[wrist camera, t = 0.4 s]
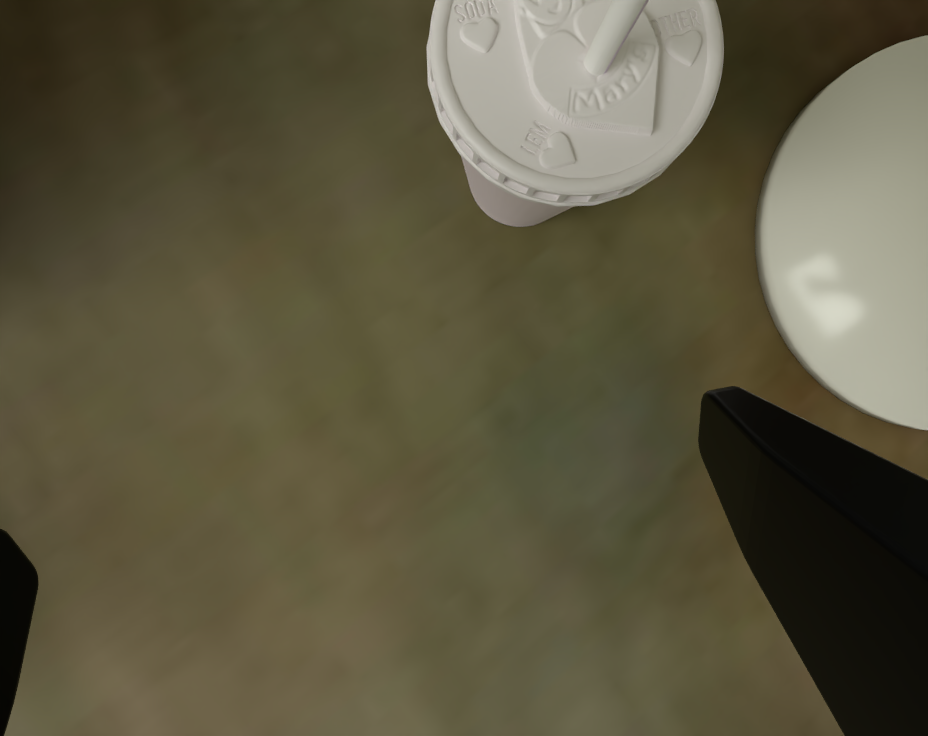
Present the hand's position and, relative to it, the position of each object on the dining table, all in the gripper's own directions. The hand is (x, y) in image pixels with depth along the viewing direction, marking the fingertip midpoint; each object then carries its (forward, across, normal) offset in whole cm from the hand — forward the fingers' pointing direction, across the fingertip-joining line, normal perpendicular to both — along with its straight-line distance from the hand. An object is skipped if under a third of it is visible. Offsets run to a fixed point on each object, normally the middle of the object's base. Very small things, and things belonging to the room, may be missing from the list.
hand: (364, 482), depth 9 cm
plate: (+14, -20, +7) cm, 25 cm away
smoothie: (+17, -5, +2) cm, 18 cm away
